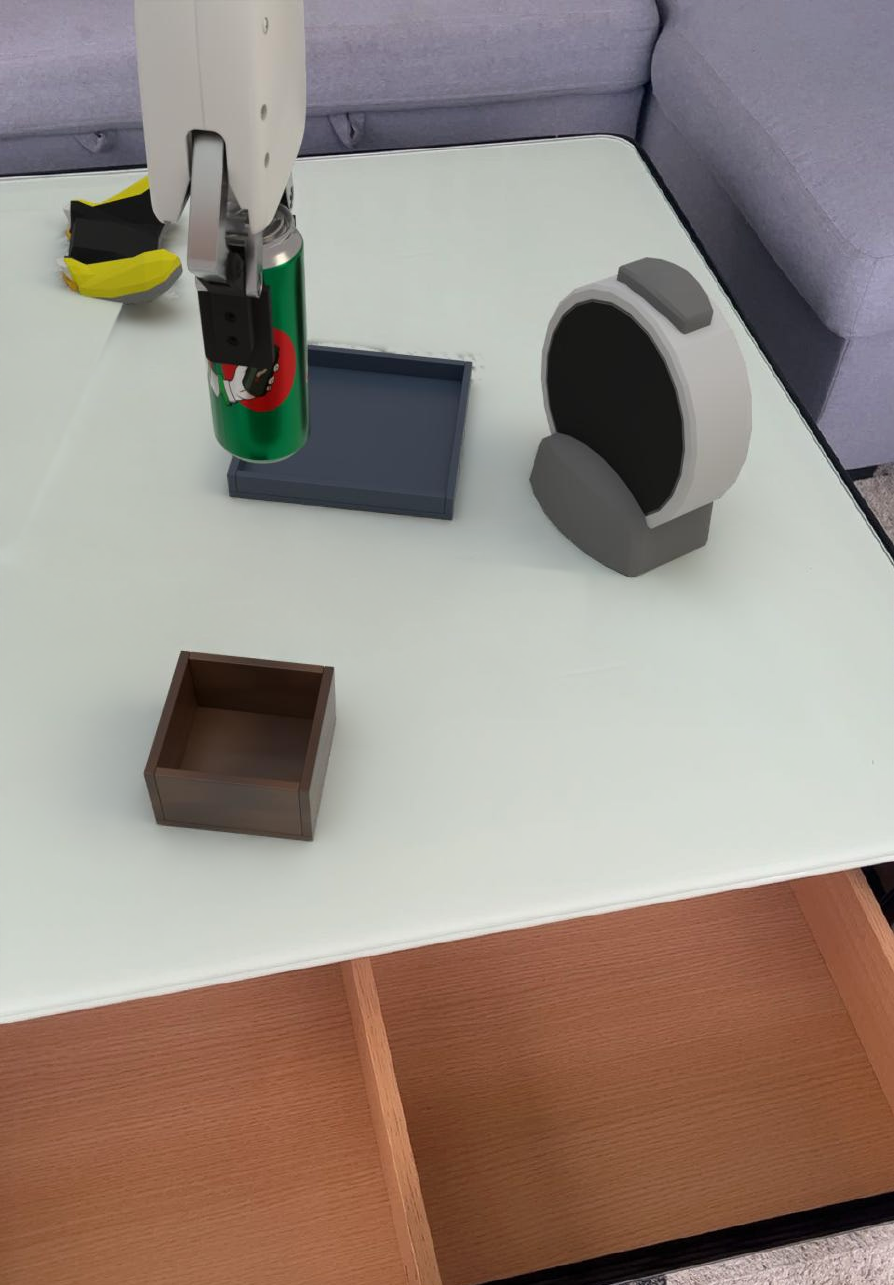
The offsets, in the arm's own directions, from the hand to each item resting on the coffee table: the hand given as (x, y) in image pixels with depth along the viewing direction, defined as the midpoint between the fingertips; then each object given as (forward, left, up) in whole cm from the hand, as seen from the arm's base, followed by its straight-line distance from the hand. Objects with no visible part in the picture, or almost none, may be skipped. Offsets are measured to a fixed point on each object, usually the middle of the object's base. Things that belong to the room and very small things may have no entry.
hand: (253, 322), depth 57 cm
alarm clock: (+22, +18, -24) cm, 37 cm away
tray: (+2, +23, -24) cm, 33 cm away
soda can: (0, 0, -7) cm, 7 cm away
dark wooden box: (0, -9, -24) cm, 26 cm away
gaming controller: (-20, +41, -24) cm, 51 cm away
